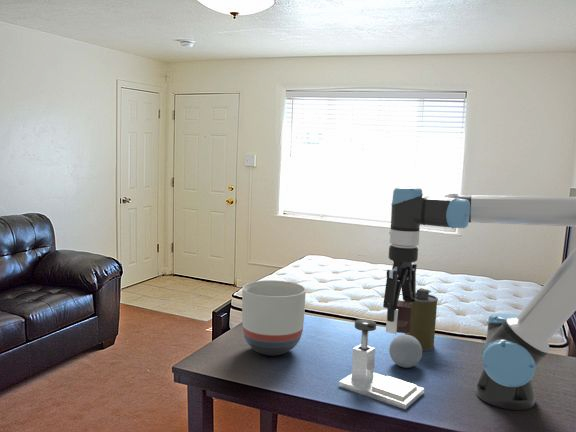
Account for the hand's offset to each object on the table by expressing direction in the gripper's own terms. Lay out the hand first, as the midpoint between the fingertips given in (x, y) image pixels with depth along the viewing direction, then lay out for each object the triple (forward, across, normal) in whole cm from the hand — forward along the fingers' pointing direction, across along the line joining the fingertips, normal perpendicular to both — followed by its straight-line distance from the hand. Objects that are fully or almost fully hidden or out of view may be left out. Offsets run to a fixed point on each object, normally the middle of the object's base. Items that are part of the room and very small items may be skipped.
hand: (398, 328), depth 138 cm
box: (0, 0, 0) cm, 0 cm away
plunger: (+14, 0, -10) cm, 17 cm away
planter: (+19, -1, -44) cm, 48 cm away
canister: (+19, -40, -10) cm, 45 cm away
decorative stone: (+19, -20, -6) cm, 28 cm away
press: (+19, 0, -4) cm, 19 cm away
